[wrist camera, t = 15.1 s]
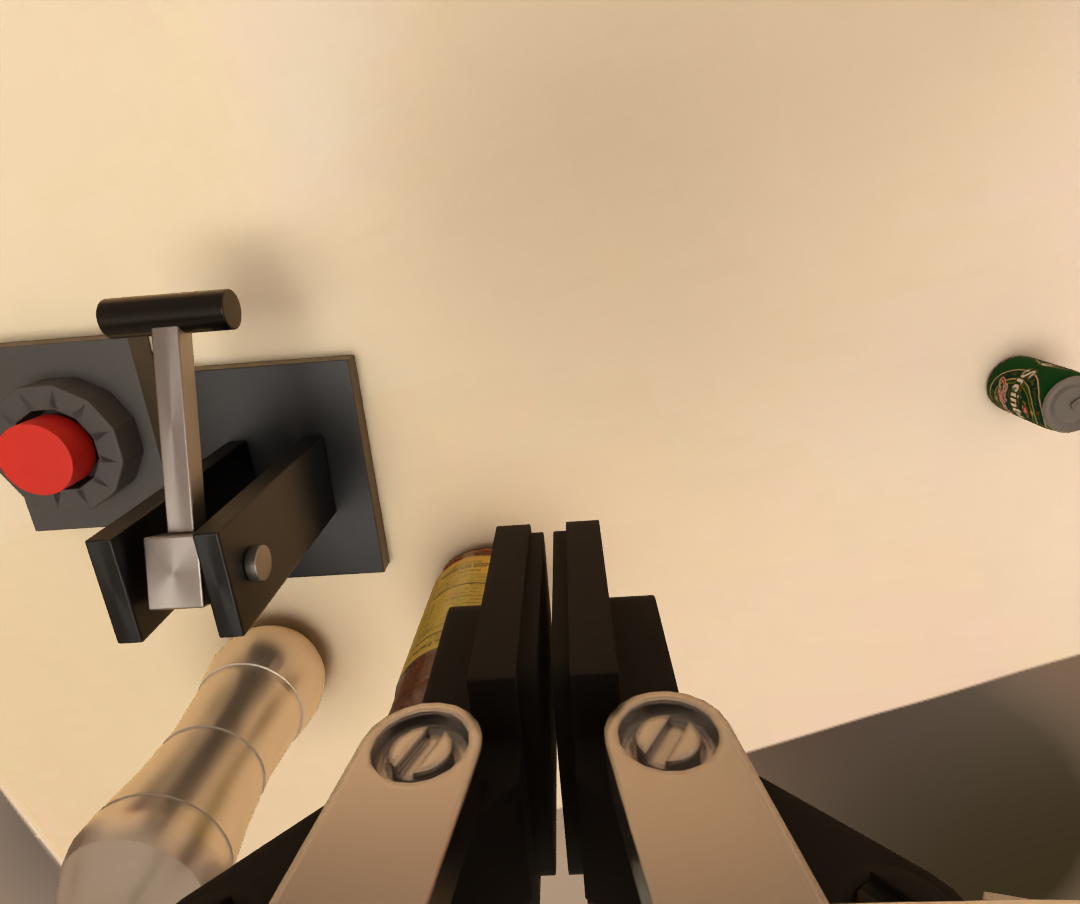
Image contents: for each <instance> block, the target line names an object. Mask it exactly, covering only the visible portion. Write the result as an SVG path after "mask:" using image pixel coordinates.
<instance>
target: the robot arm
mask: <svg viewBox="0 0 1080 904" xmlns="http://www.w3.org/2000/svg"><path fill="white" fill-rule="evenodd" d="M557 749H558V761H559V772H560V783H561V794H562V805H563V815H564V827H565V838H566V849H567V860H568V871H569V875H573V874H584V886H585V897H586V899H587V900H588V904H1080V900H1030V899H1024V898H1019V897H1013V896H1007V895H1001V894H995V893H988V892H984V895H983V901H964V900H963V899H962V898H961V897H960V896H959V895H958V894H957V893H956V892H955V891H954V890H953V889H952V888H951V887H949V886H948V885H946V884H945V883H944V882H942V881H941V880H939V879H938V878H937V877H935V876H934V875H932V874H931V873H929V872H928V871H926V870H924V869H922V868H921V867H919V866H917V865H915V864H914V863H912V862H910V861H908V860H907V859H905V858H903V857H901V856H900V855H897V854H896V853H894V852H892V851H891V850H889V849H887V848H885V847H884V846H882V845H880V844H878V843H877V842H875V841H873V840H871V839H869V838H868V837H866V836H864V835H862V834H861V833H859V832H857V831H855V830H853V829H852V828H850V827H848V826H847V825H845V824H843V823H841V822H839V821H837V820H836V819H834V818H832V817H831V816H829V815H827V814H825V813H824V812H822V811H820V810H818V809H817V808H815V807H813V806H811V805H809V804H808V803H806V802H804V801H802V800H801V799H799V798H797V797H795V796H793V795H792V794H790V793H788V792H786V791H785V790H783V789H781V788H779V787H778V786H776V785H774V784H772V783H770V782H769V781H767V780H765V779H763V778H762V777H760V776H758V775H757V773H756V771H755V769H754V767H753V766H752V764H751V762H750V760H749V758H748V757H747V755H746V753H745V751H744V749H743V748H742V746H741V744H740V742H739V740H738V739H737V737H736V735H735V733H734V731H733V730H732V728H731V726H730V724H729V723H728V721H727V720H726V719H725V718H724V716H723V715H722V714H721V713H720V712H719V711H718V710H717V709H716V708H714V707H713V706H711V705H710V704H708V703H707V702H705V701H704V700H701V699H698V698H696V697H693V696H691V695H688V694H683V693H679V691H678V687H677V683H676V679H675V675H674V671H673V667H672V663H671V659H670V655H669V651H668V647H667V643H666V639H665V635H664V631H663V627H662V623H661V619H660V615H659V611H658V607H657V603H656V600H655V597H654V596H653V595H647V596H629V597H612V598H609V594H608V586H607V579H606V571H605V563H604V556H603V548H602V540H601V533H600V525H599V520H591V521H575V522H566V531H555V532H554V533H553V594H552V622H551V610H550V599H549V587H548V576H547V564H546V553H545V542H544V534H543V532H539V533H531V527H530V524H527V525H511V526H497V528H496V532H495V537H494V542H493V548H492V553H491V558H490V563H489V568H488V573H487V578H486V583H485V588H484V593H483V598H482V603H481V605H471V606H453V607H450V608H449V610H448V612H447V615H446V619H445V622H444V626H443V630H442V633H441V637H440V640H439V644H438V648H437V651H436V655H435V658H434V662H433V666H432V669H431V673H430V676H429V680H428V684H427V687H426V691H425V694H424V698H423V702H422V704H418V705H414V706H410V707H407V708H403V709H401V710H399V711H397V712H395V713H393V714H391V715H388V716H386V717H385V718H384V719H383V720H381V721H380V722H379V723H377V724H376V725H375V726H373V727H372V728H371V730H370V731H369V732H368V733H367V735H366V736H365V737H364V739H363V740H362V741H361V743H360V745H359V746H358V748H357V750H356V752H355V753H354V755H353V757H352V759H351V760H350V762H349V764H348V766H347V767H346V769H345V771H344V773H343V774H342V776H341V778H340V780H339V781H338V783H337V785H336V787H335V788H334V790H333V792H332V794H331V795H330V797H329V799H328V801H327V802H326V804H325V805H324V806H323V807H321V808H320V809H318V810H317V811H315V812H314V813H312V814H311V815H309V816H307V817H306V818H304V819H303V820H301V821H300V822H298V823H297V824H295V825H294V826H292V827H291V828H289V829H288V830H286V831H285V832H283V833H282V834H280V835H279V836H277V837H275V838H274V839H272V840H271V841H269V842H268V843H266V844H265V845H263V846H262V847H260V848H259V849H257V850H256V851H254V852H253V853H251V854H250V855H248V856H247V857H245V858H244V859H242V860H240V861H239V862H237V863H236V864H234V865H233V866H231V867H230V868H228V869H227V870H225V871H224V872H222V873H221V874H219V875H218V876H216V877H215V878H213V879H212V880H210V881H208V882H207V883H205V884H204V885H202V886H201V887H199V888H198V889H196V890H195V891H193V892H192V893H190V894H189V895H187V896H186V897H184V898H183V899H181V900H180V901H179V902H177V903H176V904H540V879H541V876H545V875H555V874H556V770H557Z"/></svg>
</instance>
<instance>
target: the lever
mask: <svg viewBox="0 0 1080 904" xmlns="http://www.w3.org/2000/svg"><path fill="white" fill-rule="evenodd" d="M96 318H97V322H98V325H99V327H100V329H101V331H102V332H103V333H104V334H105V335H106V336H107V337H109V338H111V339H119V338H132V337H145V336H152V344H153V356H154V369H155V381H156V394H157V407H158V419H159V432H160V444H161V457H162V470H163V482H164V495H165V507H166V520H167V532H166V533H162V534H158V535H154V536H149V537H145V538H144V539H143V545H144V558H145V570H146V583H147V595H148V608H149V610H151V611H152V610H169V609H186V608H203V607H205V606H207V605H209V604H211V603H210V599H209V596H208V592H207V588H206V584H205V581H204V577H203V573H202V570H201V566H200V562H199V559H198V555H197V551H196V548H195V544H194V540H193V537H192V536H193V533H195V532H196V531H197V530H198V529H199V528H200V527H201V526H203V525H204V524H205V523H206V510H205V497H204V484H203V471H202V459H201V446H200V433H199V420H198V408H197V395H196V382H195V369H194V356H193V344H192V333H195V332H208V331H221V330H233V329H237V328H238V327H239V326H240V323H241V307H240V303H239V300H238V298H237V296H236V294H235V293H234V292H233V291H232V290H230V289H220V290H208V291H195V292H183V293H171V294H159V295H147V296H134V297H122V298H110V299H103V300H102V301H100V302H99V304H98V306H97V310H96Z"/></svg>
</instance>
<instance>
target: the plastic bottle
mask: <svg viewBox="0 0 1080 904" xmlns="http://www.w3.org/2000/svg"><path fill="white" fill-rule="evenodd" d="M324 684H325V669H324V665H323V662H322V659H321V657H320V655H319V653H318V651H317V650H316V648H315V646H314V645H313V644H312V643H311V642H310V641H309V639H307V638H306V637H305V636H304V635H302V634H301V633H299V632H297V631H295V630H293V629H290V628H287V627H283V626H258V627H254V628H250V629H249V630H248V632H247V633H246V634H245V636H242V637H235V638H233V639H232V640H231V641H230V642H229V643H227V644H226V645H225V646H224V647H223V648H222V649H221V650H220V651H219V652H218V653H217V654H216V655H215V657H214V659H213V661H212V663H211V665H210V666H209V668H208V670H207V672H206V674H205V676H204V678H203V679H202V682H201V684H200V687H199V690H198V692H197V694H196V696H195V697H194V699H193V701H192V702H191V704H190V705H189V707H188V709H187V710H186V712H185V714H184V715H183V717H182V719H181V720H180V722H179V723H178V725H177V727H176V728H175V730H174V731H173V732H172V733H171V735H170V736H169V737H168V738H167V739H166V740H165V742H164V743H163V745H162V746H161V747H160V748H159V749H158V750H157V751H156V752H155V754H154V755H153V756H152V757H151V758H150V760H149V761H148V762H147V763H146V764H145V766H144V767H143V768H142V769H141V770H140V771H139V772H138V773H137V774H136V775H135V776H134V777H133V778H132V779H131V780H130V781H129V782H128V783H127V784H126V785H125V786H124V787H123V788H122V789H121V790H120V791H119V792H118V793H117V794H116V795H115V796H114V797H113V798H112V799H111V800H110V801H109V802H108V803H107V804H106V805H105V806H104V807H103V808H102V809H101V810H100V811H99V812H98V813H97V814H96V815H95V816H94V817H93V818H92V819H91V820H90V821H89V822H88V824H87V825H86V826H85V827H84V828H83V829H82V830H81V832H80V833H79V834H78V835H77V836H76V837H75V838H74V840H73V842H72V844H71V845H70V847H69V849H68V852H67V854H66V857H65V859H64V861H63V864H62V866H61V869H60V871H59V876H58V881H57V891H56V900H55V904H176V903H177V902H179V901H180V900H181V899H183V898H184V897H186V896H187V895H189V894H190V893H192V892H193V891H195V890H196V889H198V888H199V887H201V886H202V885H204V884H205V883H207V882H208V881H210V880H212V879H213V878H215V877H216V876H218V875H219V874H221V873H222V872H224V871H225V870H227V869H228V868H230V867H231V866H233V865H234V864H235V862H236V859H237V856H238V853H239V850H240V848H241V845H242V842H243V839H244V836H245V833H246V830H247V827H248V824H249V822H250V820H251V818H252V815H253V813H254V811H255V809H256V807H257V804H258V802H259V799H260V796H261V794H262V793H263V791H264V789H265V786H266V784H267V782H268V780H269V777H270V776H271V774H272V773H273V771H274V769H275V768H276V766H277V765H278V763H279V762H280V760H281V758H282V757H283V755H284V754H285V752H286V751H287V749H288V747H289V746H290V744H291V743H292V742H293V741H294V740H295V739H296V737H297V736H298V735H299V734H300V733H301V732H302V731H303V729H304V728H305V727H306V725H307V724H308V722H309V721H310V720H311V718H312V717H313V715H314V714H315V712H316V710H317V709H318V706H319V703H320V700H321V697H322V692H323V688H324Z"/></svg>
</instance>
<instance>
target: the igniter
mask: <svg viewBox="0 0 1080 904" xmlns="http://www.w3.org/2000/svg"><path fill="white" fill-rule="evenodd" d="M45 414H57V415H61V416H65V417H67V418H69V419H71V420H73V421H75V422H76V423H78V424H79V425H80V426H81V427H82V428H83V429H84V430H85V431H86V432H87V433H88V435H89V436H90V438H91V440H92V442H93V444H94V447H95V453H96V460H95V464H94V467H93V469H92V471H91V472H90V473H89V475H87V476H86V477H85V478H83V479H82V480H80V481H78V482H76V483H75V484H73V485H71V486H69V487H67V488H66V489H64V490H62V491H60V492H58V493H56V494H52V495H37V494H32V493H29V492H27V491H25V490H23V489H21V488H19V487H18V486H16V485H15V484H14V483H12V482H11V481H10V480H9V479H8V477H7V476H6V475H5V474H4V472H3V471H2V469H1V467H0V473H1V474H2V475H3V476H4V477H5V478H6V479H7V480H8V481H9V482H10V483H11V484H12V485H13V486H14V487H15V488H16V489H17V490H18V491H19V492H20V493H21V495H22V496H23V497H24V498H25V501H26V504H27V507H28V510H29V512H30V515H31V518H32V521H33V524H34V527H35V529H36V531H47V530H62V529H78V528H93V527H107V526H108V525H109V524H111V523H112V522H114V521H115V520H117V519H118V518H119V517H121V516H122V515H124V514H125V513H127V512H128V511H130V510H131V509H132V508H134V507H135V506H137V505H138V504H140V503H141V502H142V501H144V500H145V499H147V498H148V497H150V496H151V495H153V494H154V493H155V492H157V491H158V490H160V489H161V488H163V487H164V482H163V470H162V457H161V444H160V432H159V419H158V407H157V394H156V381H155V369H154V360H153V356H152V352H151V348H150V345H149V341H148V337H147V336H145V337H132V338H119V339H111V338H109V337H107V336H106V335H98V336H85V337H73V338H60V339H47V340H35V341H22V342H9V343H0V437H1V435H2V434H3V433H4V432H5V431H6V430H7V429H9V428H10V427H12V426H14V425H17V424H20V423H22V422H25V421H27V420H30V419H32V418H35V417H37V416H40V415H45Z"/></svg>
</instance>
